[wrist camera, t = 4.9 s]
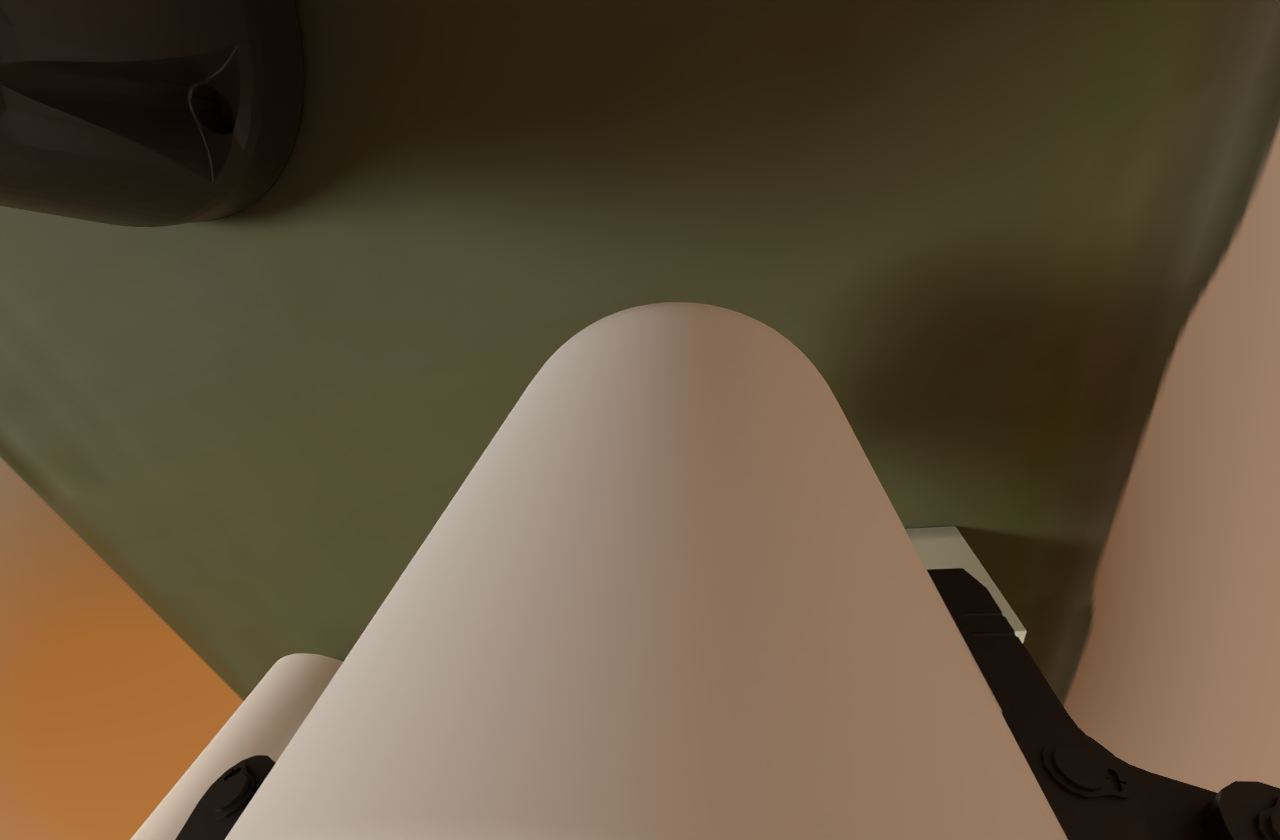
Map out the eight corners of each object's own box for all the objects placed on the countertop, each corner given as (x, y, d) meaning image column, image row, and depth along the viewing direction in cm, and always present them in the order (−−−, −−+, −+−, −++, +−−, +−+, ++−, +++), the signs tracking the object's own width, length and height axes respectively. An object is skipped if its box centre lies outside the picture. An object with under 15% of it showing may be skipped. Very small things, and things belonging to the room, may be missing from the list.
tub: (575, 544, 27) (545, 637, 22) (955, 526, 24) (1027, 631, 18) (630, 720, 36) (619, 817, 31) (916, 726, 32) (958, 837, 27)
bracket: (523, 624, 32) (435, 858, 21) (576, 707, 36) (525, 936, 25) (246, 659, 38) (72, 854, 27) (320, 727, 42) (194, 918, 32)
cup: (822, 252, 10) (1545, 935, 2) (849, 612, 16) (1030, 1183, 7) (480, 334, 12) (-82, 854, 3) (615, 630, 18) (537, 1104, 9)
